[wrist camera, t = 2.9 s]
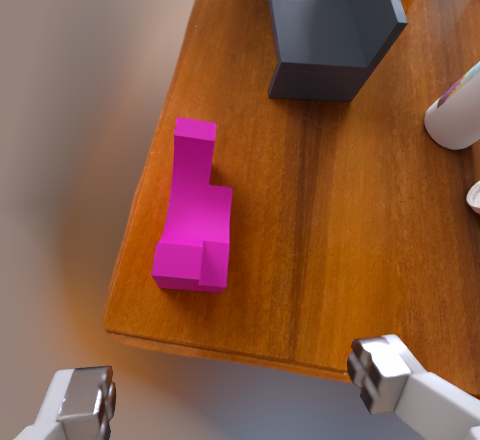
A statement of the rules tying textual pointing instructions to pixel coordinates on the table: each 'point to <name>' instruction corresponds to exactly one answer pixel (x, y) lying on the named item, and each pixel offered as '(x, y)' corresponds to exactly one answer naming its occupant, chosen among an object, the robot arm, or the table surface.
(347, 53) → the shelf
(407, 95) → the table surface
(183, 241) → the toy block
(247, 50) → the table surface
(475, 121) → the milk bottle
